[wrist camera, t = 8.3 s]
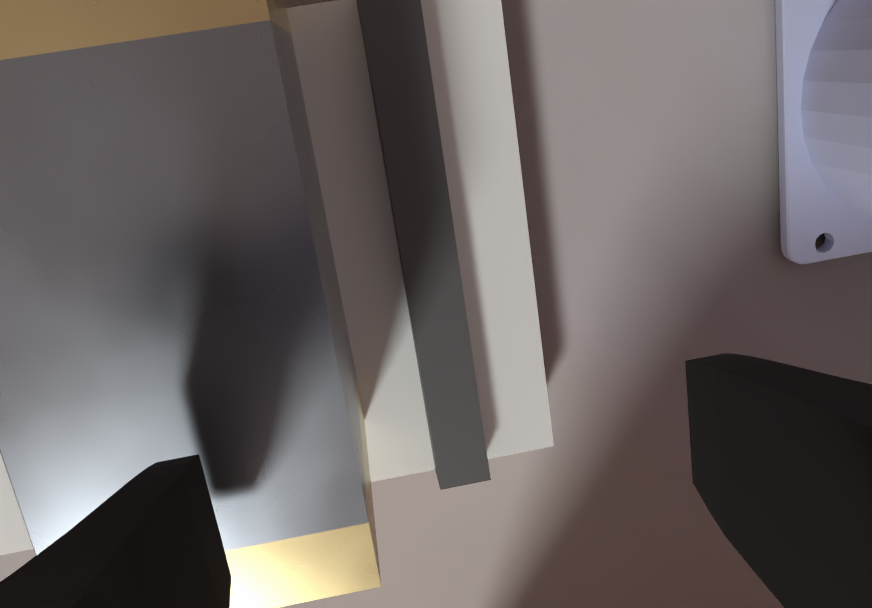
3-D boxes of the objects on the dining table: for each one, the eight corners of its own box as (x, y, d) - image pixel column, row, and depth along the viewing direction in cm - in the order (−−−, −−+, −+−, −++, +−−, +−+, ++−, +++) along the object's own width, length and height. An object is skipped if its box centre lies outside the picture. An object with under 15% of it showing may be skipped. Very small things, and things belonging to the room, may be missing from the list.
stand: (481, -16, 19) (508, -30, 16) (534, 412, 22) (564, 464, 19) (-145, 79, 18) (-235, 82, 15) (8, 514, 21) (-41, 585, 18)
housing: (364, 419, 19) (380, 586, 13) (153, 459, 19) (68, 650, 13) (279, -28, 16) (250, -79, 10) (26, 9, 16) (-162, -23, 10)
